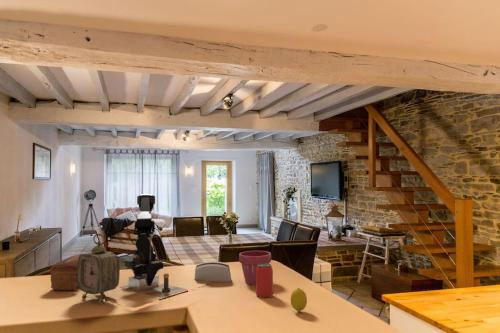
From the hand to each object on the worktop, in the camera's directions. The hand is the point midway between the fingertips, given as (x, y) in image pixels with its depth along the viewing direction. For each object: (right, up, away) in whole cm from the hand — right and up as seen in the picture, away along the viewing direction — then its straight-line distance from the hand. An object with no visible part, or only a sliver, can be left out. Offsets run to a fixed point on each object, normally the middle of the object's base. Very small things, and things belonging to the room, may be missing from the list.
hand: (143, 284), depth 158 cm
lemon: (+61, 0, -31) cm, 69 cm away
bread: (-32, -3, +9) cm, 33 cm away
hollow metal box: (0, -1, 0) cm, 1 cm away
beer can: (+51, -1, -12) cm, 52 cm away
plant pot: (+47, -2, +9) cm, 48 cm away
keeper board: (+5, -1, -4) cm, 6 cm away
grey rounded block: (+28, -2, +11) cm, 30 cm away
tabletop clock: (-13, -1, -16) cm, 20 cm away
